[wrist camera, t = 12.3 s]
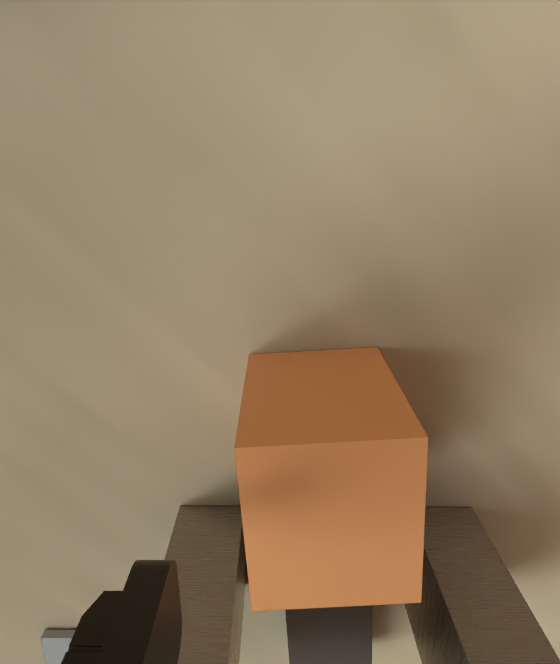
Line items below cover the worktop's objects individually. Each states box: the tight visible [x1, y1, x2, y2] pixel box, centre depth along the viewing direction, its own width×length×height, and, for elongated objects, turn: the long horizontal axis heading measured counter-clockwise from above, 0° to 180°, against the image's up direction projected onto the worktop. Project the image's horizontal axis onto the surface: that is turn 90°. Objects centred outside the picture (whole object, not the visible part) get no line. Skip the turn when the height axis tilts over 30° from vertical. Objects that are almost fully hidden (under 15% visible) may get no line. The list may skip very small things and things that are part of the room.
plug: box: [234, 347, 428, 664], centre depth 16 cm, size 4×14×6 cm, turn 4°
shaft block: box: [165, 506, 560, 664], centre depth 16 cm, size 12×4×8 cm, turn 89°
